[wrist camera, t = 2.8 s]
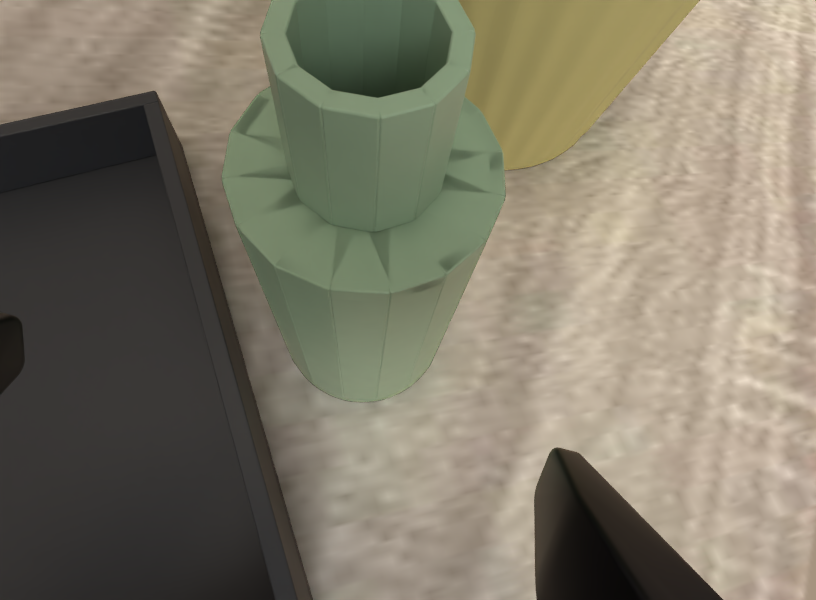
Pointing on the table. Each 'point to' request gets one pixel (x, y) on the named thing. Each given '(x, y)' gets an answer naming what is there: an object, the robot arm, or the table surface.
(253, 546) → the tray
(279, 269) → the bottle
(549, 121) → the potted cactus
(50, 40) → the table surface
